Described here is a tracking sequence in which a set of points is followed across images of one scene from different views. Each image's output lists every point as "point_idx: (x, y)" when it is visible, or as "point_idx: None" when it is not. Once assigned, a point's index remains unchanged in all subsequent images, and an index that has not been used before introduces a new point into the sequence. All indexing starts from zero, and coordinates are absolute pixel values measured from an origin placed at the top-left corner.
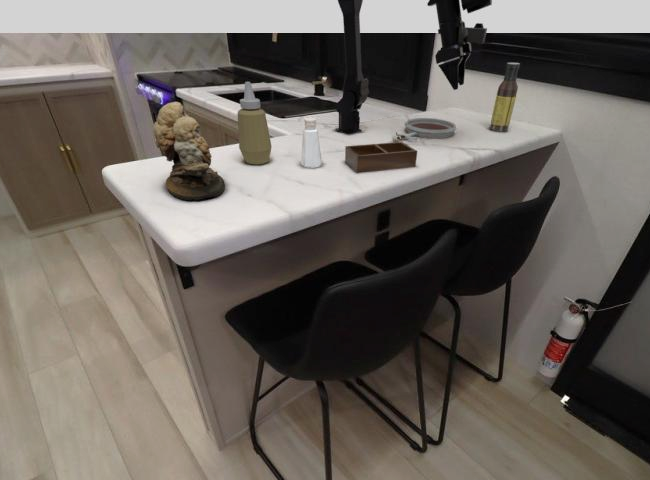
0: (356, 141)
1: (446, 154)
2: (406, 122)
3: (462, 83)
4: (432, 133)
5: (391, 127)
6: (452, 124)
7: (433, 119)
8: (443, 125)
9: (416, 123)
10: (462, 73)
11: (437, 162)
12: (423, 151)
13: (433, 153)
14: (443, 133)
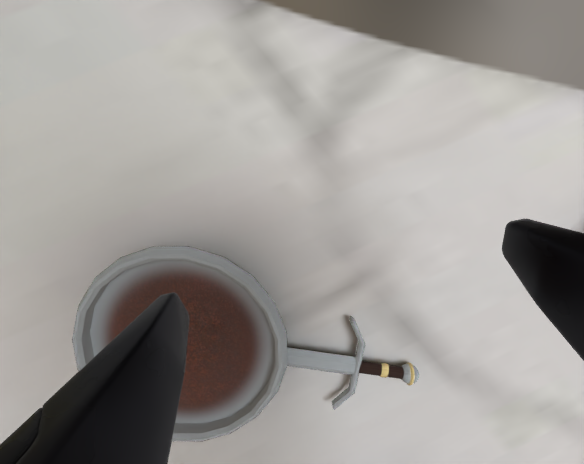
0: (472, 457)
1: (430, 158)
2: (234, 429)
3: (177, 303)
4: (269, 298)
5: (233, 459)
6: (105, 284)
7: None
8: (105, 320)
9: None
10: (130, 384)
11: (545, 142)
12: (445, 241)
13: (447, 202)
14: (234, 265)
